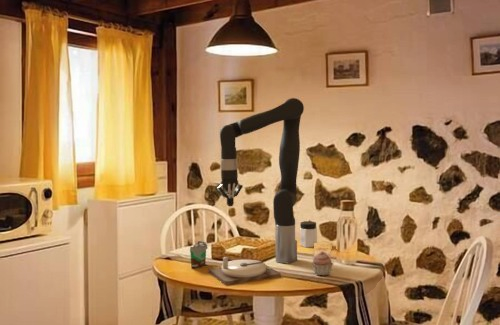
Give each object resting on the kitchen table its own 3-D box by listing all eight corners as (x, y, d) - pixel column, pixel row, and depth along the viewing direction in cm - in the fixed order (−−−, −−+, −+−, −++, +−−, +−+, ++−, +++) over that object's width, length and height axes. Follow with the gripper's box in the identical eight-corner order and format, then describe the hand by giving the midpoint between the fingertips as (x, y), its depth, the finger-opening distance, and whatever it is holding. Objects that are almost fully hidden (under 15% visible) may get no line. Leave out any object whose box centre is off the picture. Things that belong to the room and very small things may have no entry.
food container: (203, 269, 242) (203, 247, 241) (190, 269, 243) (189, 247, 242) (211, 262, 254) (210, 241, 253) (198, 261, 255) (197, 240, 254)
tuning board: (260, 265, 248) (260, 261, 247) (280, 276, 229) (280, 272, 229) (208, 272, 237) (208, 268, 237) (225, 285, 219) (225, 281, 219)
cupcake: (307, 275, 231) (307, 252, 230) (317, 270, 239) (317, 247, 238) (327, 278, 226) (327, 255, 225) (337, 273, 233) (337, 250, 233)
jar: (296, 245, 284) (296, 222, 283) (308, 242, 289) (308, 220, 288) (308, 248, 277) (308, 225, 276) (320, 246, 282) (320, 223, 280)
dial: (223, 264, 243) (223, 249, 243) (266, 264, 242) (266, 249, 242) (219, 277, 224) (219, 261, 224) (265, 277, 223) (265, 261, 223)
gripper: (238, 167, 257) (238, 203, 258) (212, 169, 250) (213, 206, 252) (245, 168, 250) (246, 205, 252) (220, 170, 244) (221, 208, 245)
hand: (230, 206), depth 252 cm, fingers closed
